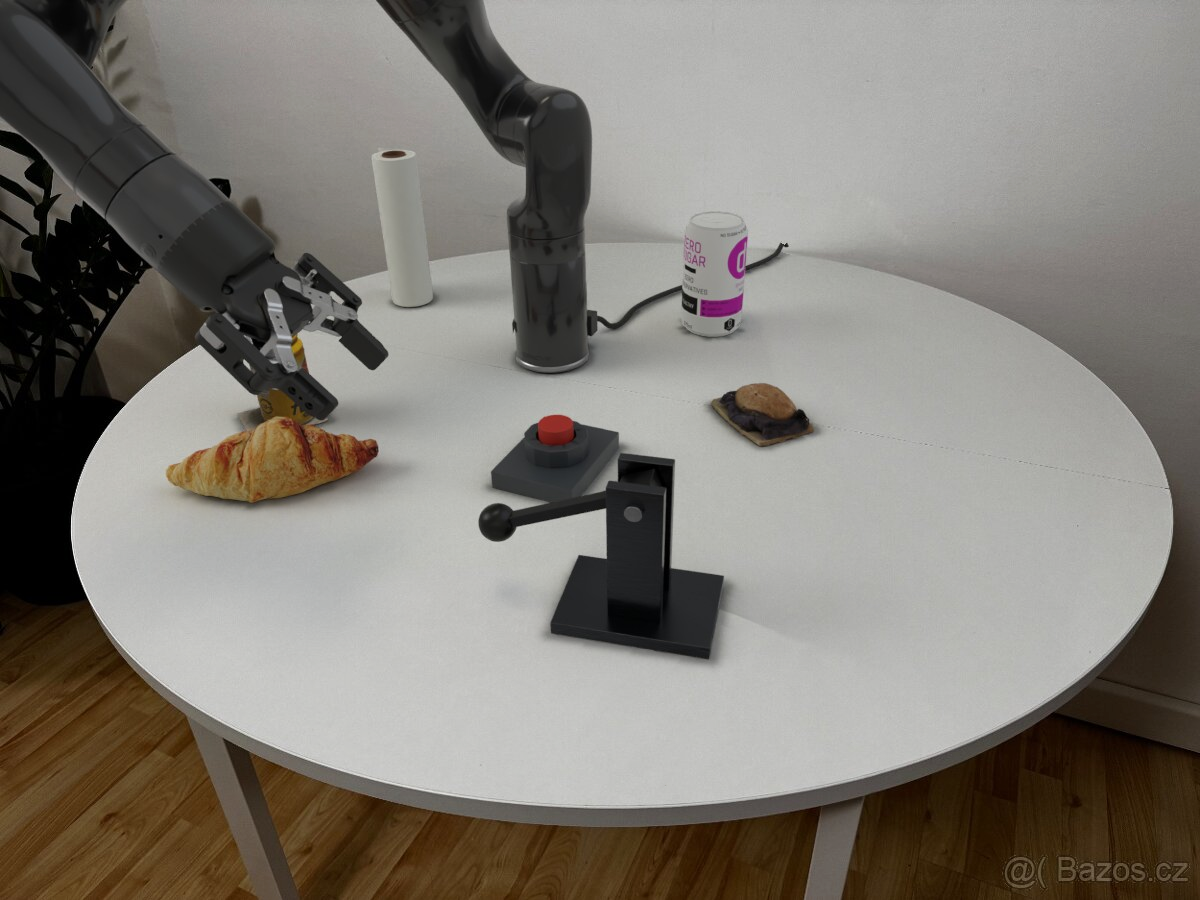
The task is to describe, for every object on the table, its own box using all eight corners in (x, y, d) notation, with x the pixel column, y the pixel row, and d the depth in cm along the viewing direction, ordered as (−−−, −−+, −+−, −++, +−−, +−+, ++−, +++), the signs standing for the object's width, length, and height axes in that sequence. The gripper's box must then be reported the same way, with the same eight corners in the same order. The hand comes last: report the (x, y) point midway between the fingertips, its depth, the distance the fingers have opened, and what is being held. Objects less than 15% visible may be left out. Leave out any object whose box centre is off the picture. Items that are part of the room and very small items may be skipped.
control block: (545, 431, 100) (543, 400, 98) (619, 447, 97) (619, 415, 95) (492, 487, 91) (488, 454, 89) (572, 507, 88) (570, 473, 86)
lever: (483, 552, 74) (466, 521, 73) (496, 529, 77) (479, 499, 75) (661, 517, 68) (646, 483, 66) (668, 493, 70) (654, 460, 69)
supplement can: (750, 321, 124) (759, 215, 116) (724, 343, 119) (731, 233, 111) (698, 309, 128) (703, 206, 120) (670, 330, 122) (673, 223, 114)
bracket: (550, 633, 73) (542, 495, 66) (578, 564, 80) (574, 433, 73) (709, 659, 70) (719, 518, 63) (723, 585, 78) (733, 451, 70)
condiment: (328, 421, 103) (309, 325, 96) (254, 443, 99) (228, 344, 93) (308, 396, 108) (288, 303, 102) (237, 416, 104) (211, 321, 98)
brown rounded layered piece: (705, 406, 105) (706, 378, 103) (766, 391, 107) (768, 363, 106) (755, 449, 96) (757, 420, 94) (820, 431, 99) (823, 402, 97)
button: (548, 426, 94) (547, 411, 93) (579, 432, 93) (579, 418, 92) (532, 442, 91) (531, 428, 90) (564, 449, 90) (563, 435, 89)
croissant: (175, 533, 91) (145, 497, 84) (178, 449, 96) (150, 408, 89) (387, 503, 94) (375, 466, 87) (380, 423, 99) (368, 381, 92)
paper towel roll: (430, 308, 130) (411, 158, 119) (388, 308, 130) (366, 159, 119) (438, 289, 136) (421, 145, 125) (398, 289, 136) (378, 145, 125)
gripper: (151, 232, 59) (339, 403, 62) (269, 174, 70) (421, 322, 74) (106, 301, 62) (286, 458, 66) (225, 236, 74) (372, 373, 78)
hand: (357, 386), depth 70 cm, fingers open, 8 cm apart
